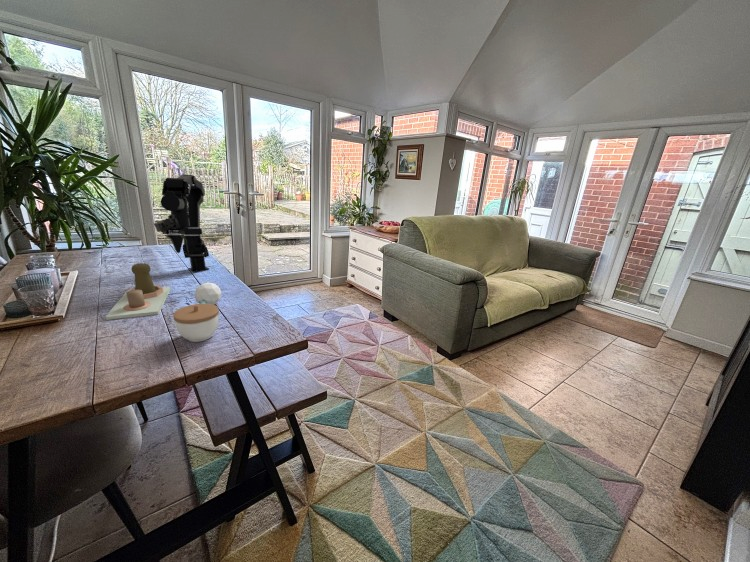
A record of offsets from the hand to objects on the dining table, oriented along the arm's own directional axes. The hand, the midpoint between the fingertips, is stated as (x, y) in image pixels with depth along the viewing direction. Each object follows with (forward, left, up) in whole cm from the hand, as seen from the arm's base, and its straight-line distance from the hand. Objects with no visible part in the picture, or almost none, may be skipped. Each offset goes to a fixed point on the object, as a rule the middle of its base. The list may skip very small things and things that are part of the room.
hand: (184, 253), depth 117 cm
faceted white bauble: (+27, -5, -13) cm, 31 cm away
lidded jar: (+45, -15, -13) cm, 49 cm away
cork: (+5, -16, -12) cm, 20 cm away
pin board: (+10, -18, -12) cm, 24 cm away
